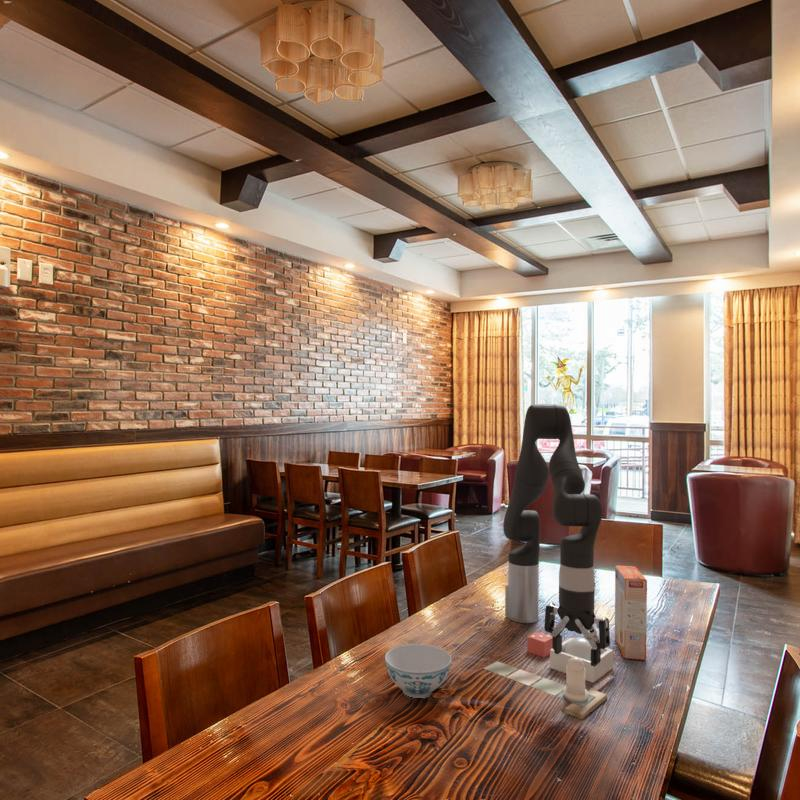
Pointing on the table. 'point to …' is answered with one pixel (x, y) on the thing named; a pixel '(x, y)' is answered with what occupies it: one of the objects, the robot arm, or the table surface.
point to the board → (550, 689)
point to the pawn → (575, 681)
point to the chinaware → (418, 668)
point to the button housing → (591, 672)
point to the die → (539, 644)
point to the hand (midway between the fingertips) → (575, 658)
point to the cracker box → (630, 612)
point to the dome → (579, 648)
